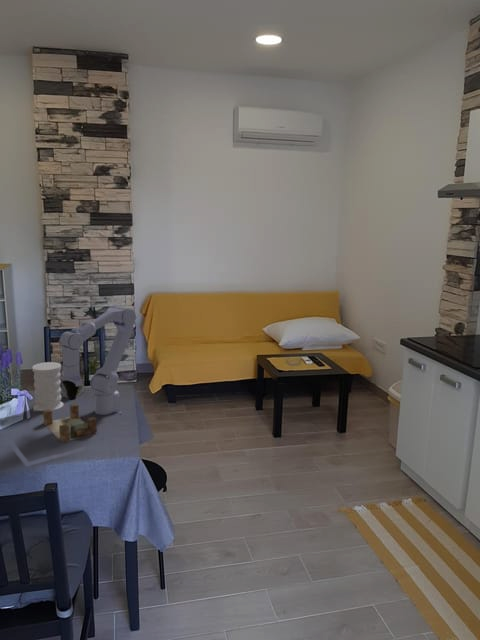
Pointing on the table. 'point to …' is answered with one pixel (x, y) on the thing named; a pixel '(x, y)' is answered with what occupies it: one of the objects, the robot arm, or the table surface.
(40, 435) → the table surface
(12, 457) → the table surface
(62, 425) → the stool board
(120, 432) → the table surface
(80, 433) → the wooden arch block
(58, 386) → the decorative container
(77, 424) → the lock block
